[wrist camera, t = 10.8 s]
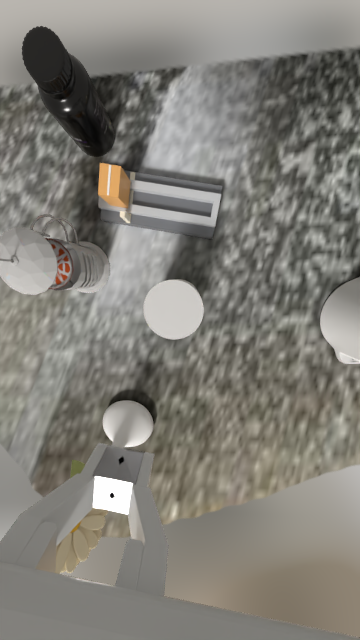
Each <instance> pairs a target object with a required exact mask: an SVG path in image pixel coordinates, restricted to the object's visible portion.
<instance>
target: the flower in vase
mask: <svg viewBox="0 0 360 640" xmlns="http://www.w3.org/2000/svg"><path fill="white" fill-rule="evenodd" d="M153 426H154V425H153V419H152V416H151V414H150V413H149V411H148V410H147V409H146V408H145V407H144V406H143V405H141V404H139V403H137V402H135V401H130V400H123V401H118V402H115V403H113V404H112V405H110V406H109V407H108V408H107V409H106V411H105V413H104V417H103V428H104V430H105V433H106V434H107V436H108V437H109V439H110V440H111V441H113V444H112V446H116V447H120V448H124V447H133V446H137V445H140V444H142V443H143V442H145V441H146V440H147V439H148V438H149V437H150V435H151V433H152V431H153ZM84 467H85V464H84V463H82V462H79V461H76V460H72V467H71V478H72V477H73V476H74V475H76V474H77V473H78V474H80V473H81V472H82V470H83V468H84ZM107 513H108V510H105V509H99V508H93V507H92V510H91V511H90V512H89V513H88V514H87V515H86V516H85V517H84V518H83V519H82V520H81V521H80V522H79V523H78V524H77V525H76V526H75V527H74V528H73V529H72V531H71V532H70V533H69V534H68V535H67V536H66V537H65V538H64V539H63V540H62V541H61V542H60V543H59V544H58V545H57V546H56V570H55V573H57V574H60V572H61V573H63V572H65V571H67V573H72V572H73V571H74V569H75V568H76V566H77V565H78V564H79V562H80V561H82V562H83V561H85V560H86V559H87V558H88V555H89V552H90V550H91V549H94V548H95V547H96V546H97V544H98V540H100V538H101V536H102V532H101V530H100V529H101V528H102V527H103V526H104V524H105V518H104V517H105V515H106V514H107Z"/></svg>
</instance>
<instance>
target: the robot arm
mask: <svg viewBox="0 0 360 640" xmlns="http://www.w3.org/2000/svg"><path fill="white" fill-rule="evenodd" d="M320 326H321V330H322V333H323V336H324V337H325V339H326V340H327V341H328V343H329V344H330V345H331V346H332V347H333V348H334V349H335V353H336V356H337V359H338V360H339V361H340V362H343V363H346V364H360V277H358V278H356V279H353V280H351V281H348V282H346V283H345V284H343V285H341V286H340V287H339V288H337V289H336V290H335V291H334V292H333V293H332V294H331V295H330V296H329V298H328V299H327V301H326V303H325V304H324V307H323V309H322V312H321V317H320ZM153 459H154V454H153V453H147V452H143V451H137V450H132V449H125V448H120V447H116V446H111V445H106V444H102V443H98V445H97V446H96V447H95V449H94V451H93V453H92V454H91V456H90V458H89V460H88V461H87V463H86V465H85V467H84V468H83V470H82V472H81V473H80V474H78V473H77V474H76V475H74V476H73V477H72V478H70V479H69V480H67V481H66V482H65V483H63V484H62V485H60V486H59V487H58V488H56V489H55V490H54V491H52V492H51V493H49V494H48V495H47V496H45V497H44V498H42V499H41V500H40V501H38V502H37V503H36V504H34V505H33V506H31V507H30V508H29V509H27V510H26V511H24V512H23V513H22V514H20V515H19V517H18V518H17V520H16V521H15V522H14V524H13V525H12V526H11V528H10V529H9V531H8V532H7V533H6V535H5V536H4V538H3V539H2V540H1V541H0V640H360V637H356V636H351V635H346V634H341V633H337V632H332V631H327V630H322V629H318V628H313V627H308V626H303V625H298V624H294V623H289V622H284V621H280V620H275V619H270V618H265V617H260V616H256V615H251V614H246V613H242V612H237V611H231V610H227V609H222V608H218V607H213V606H208V605H203V604H199V603H194V602H189V601H184V600H180V599H175V598H170V597H166V596H164V590H165V579H166V567H167V556H168V542H167V539H166V536H165V533H164V530H163V527H162V523H161V520H160V517H159V514H158V511H157V508H156V505H155V501H154V498H153V495H152V492H151V489H150V488H149V482H150V477H151V471H152V465H153ZM92 507H93V508H99V509H105V510H111V511H115V512H119V513H123V514H128V520H129V526H130V533H131V539H130V540H129V541H128V542H126V546H125V550H124V554H123V558H122V561H121V565H120V569H119V573H118V577H117V581H116V585H115V586H114V585H109V584H104V583H100V582H95V581H90V580H86V579H81V578H76V577H72V576H67V575H62V574H57V573H55V570H56V546H57V545H58V544H59V543H60V542H61V541H62V540H63V539H64V538H65V537H66V536H67V535H68V534H69V533H70V532H71V531H72V529H73V528H74V527H75V526H76V525H77V524H78V523H79V522H80V521H81V520H82V519H83V518H84V517H85V516H86V515H87V514H88V513H89V512H90V511H91V510H92Z"/></svg>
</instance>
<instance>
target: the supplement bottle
mask: <svg viewBox="0 0 360 640" xmlns="http://www.w3.org/2000/svg"><path fill="white" fill-rule="evenodd" d="M22 55H23V60H24V64H25V66H26V69H27V70H28V72H29V73H30V75H31V76H32V78H33V79H34V80H35V82H36V83H37V85H38V90H39V93H40V96H41V99H42V101H43V103H44V105H45V106H46V108H47V109H48V110H49V112H50V113H51V114H52V115H53V117H54V118H55V119H56V120H57V121H58V123H59V124H60V125H61V126H62V127H63V128H64V130H65V131H66V132H67V133H68V134H69V136H70V137H71V138H72V139H73V140H74V141H75V143H76V144H77V145H78V146H79V147H80V148H81V149H82V150H83V151H84V152H85V153H86V154H88V155H90V156H94V157H99V156H103V155H105V154H106V153H107V152H108V151H109V150H110V149H111V147H112V145H113V142H114V127H113V124H112V121H111V119H110V117H109V115H108V113H107V111H106V109H105V107H104V105H103V103H102V101H101V99H100V97H99V95H98V93H97V91H96V89H95V87H94V85H93V83H92V81H91V79H90V77H89V75H88V73H87V71H86V70H85V68H84V66H83V65H82V64H81V62H80V61H79V60H78V59H77V58H75V57H74V56H73V55H71V54H69V53H68V52H67V50H66V49H65V47H64V46H63V44H62V42H61V41H60V39H59V37H58V36H57V35H56V34H55V33H54V32H53V31H51V30H50V29H48V28H47V27H43V26H40V27H36V28H33V29H32V30H30V31H29V33H27V34H26V37H25V38H24V41H23V46H22Z"/></svg>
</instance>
